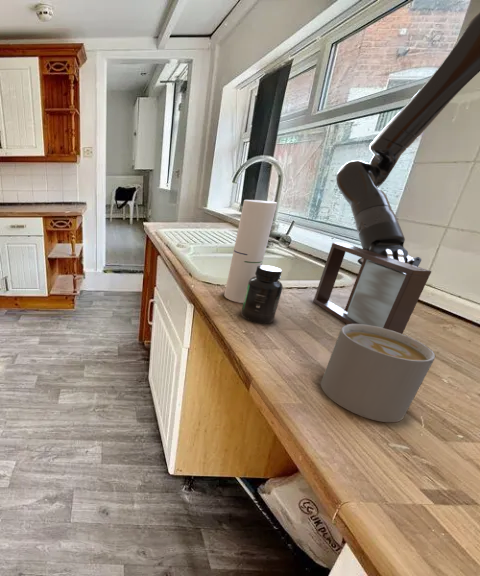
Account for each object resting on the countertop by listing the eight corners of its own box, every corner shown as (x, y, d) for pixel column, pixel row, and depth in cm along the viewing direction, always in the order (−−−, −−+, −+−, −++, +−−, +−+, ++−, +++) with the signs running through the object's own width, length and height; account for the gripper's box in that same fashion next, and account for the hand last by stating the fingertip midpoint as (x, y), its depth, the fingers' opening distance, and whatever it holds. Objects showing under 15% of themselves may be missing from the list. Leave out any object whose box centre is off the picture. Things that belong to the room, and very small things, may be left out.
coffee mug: (412, 434, 40) (447, 371, 36) (321, 402, 45) (344, 344, 41) (390, 380, 51) (416, 327, 47) (319, 359, 56) (337, 310, 52)
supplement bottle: (235, 315, 71) (246, 266, 67) (248, 308, 76) (260, 261, 71) (265, 327, 67) (280, 275, 62) (278, 318, 71) (292, 269, 66)
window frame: (312, 301, 81) (332, 242, 76) (325, 302, 81) (345, 243, 75) (379, 346, 61) (413, 270, 55) (396, 347, 61) (431, 271, 55)
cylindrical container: (230, 290, 87) (250, 199, 77) (257, 298, 82) (281, 202, 73) (219, 296, 82) (239, 200, 73) (247, 305, 77) (271, 203, 68)
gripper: (362, 219, 71) (384, 286, 64) (420, 221, 71) (450, 290, 64) (338, 236, 78) (357, 299, 71) (392, 239, 78) (416, 303, 71)
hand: (401, 295), depth 68 cm, fingers closed
